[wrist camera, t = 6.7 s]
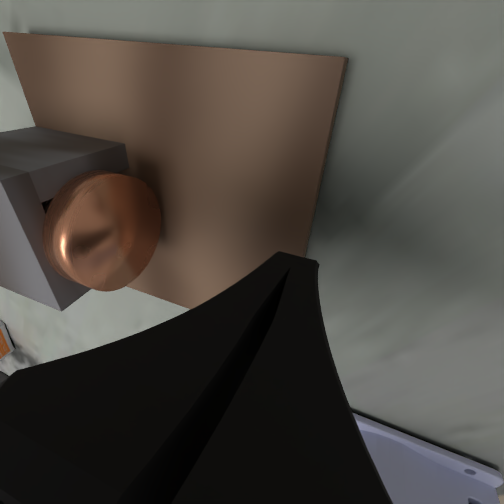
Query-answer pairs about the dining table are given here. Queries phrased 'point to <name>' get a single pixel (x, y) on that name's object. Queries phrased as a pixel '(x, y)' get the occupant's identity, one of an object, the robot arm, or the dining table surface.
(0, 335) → the skincare box
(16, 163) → the stand
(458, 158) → the dining table surface
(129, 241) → the shaft
